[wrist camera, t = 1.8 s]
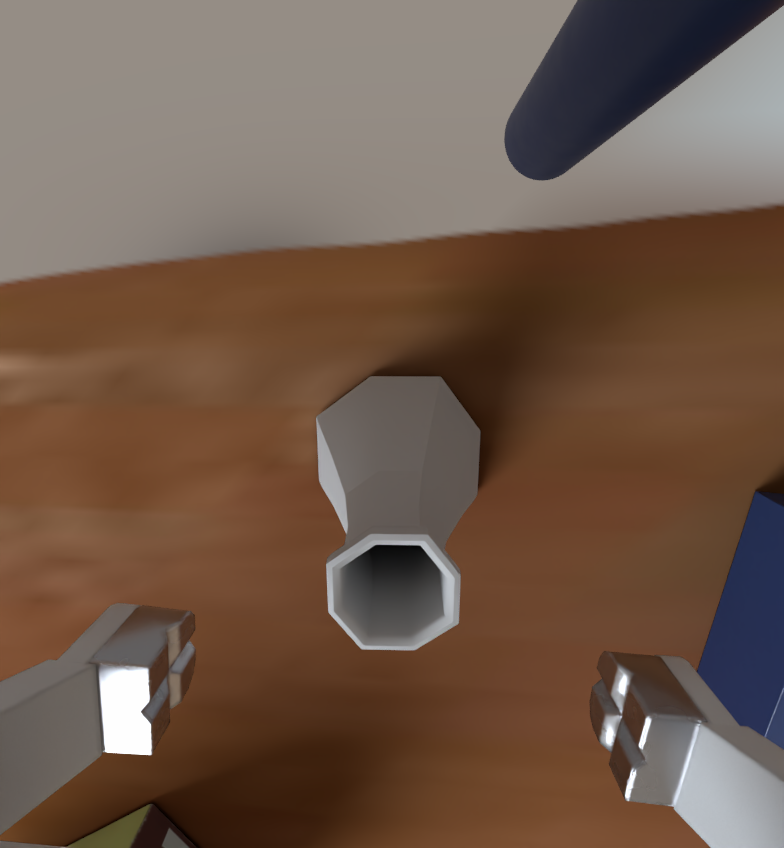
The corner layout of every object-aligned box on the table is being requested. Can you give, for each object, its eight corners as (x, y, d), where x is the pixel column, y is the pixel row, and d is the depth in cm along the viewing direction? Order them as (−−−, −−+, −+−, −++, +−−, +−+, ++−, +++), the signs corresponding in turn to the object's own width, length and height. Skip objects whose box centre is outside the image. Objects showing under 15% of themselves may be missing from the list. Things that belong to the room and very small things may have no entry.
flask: (501, 504, 21) (585, 682, 11) (348, 548, 22) (303, 750, 12) (455, 347, 19) (506, 399, 10) (289, 401, 20) (182, 500, 10)
